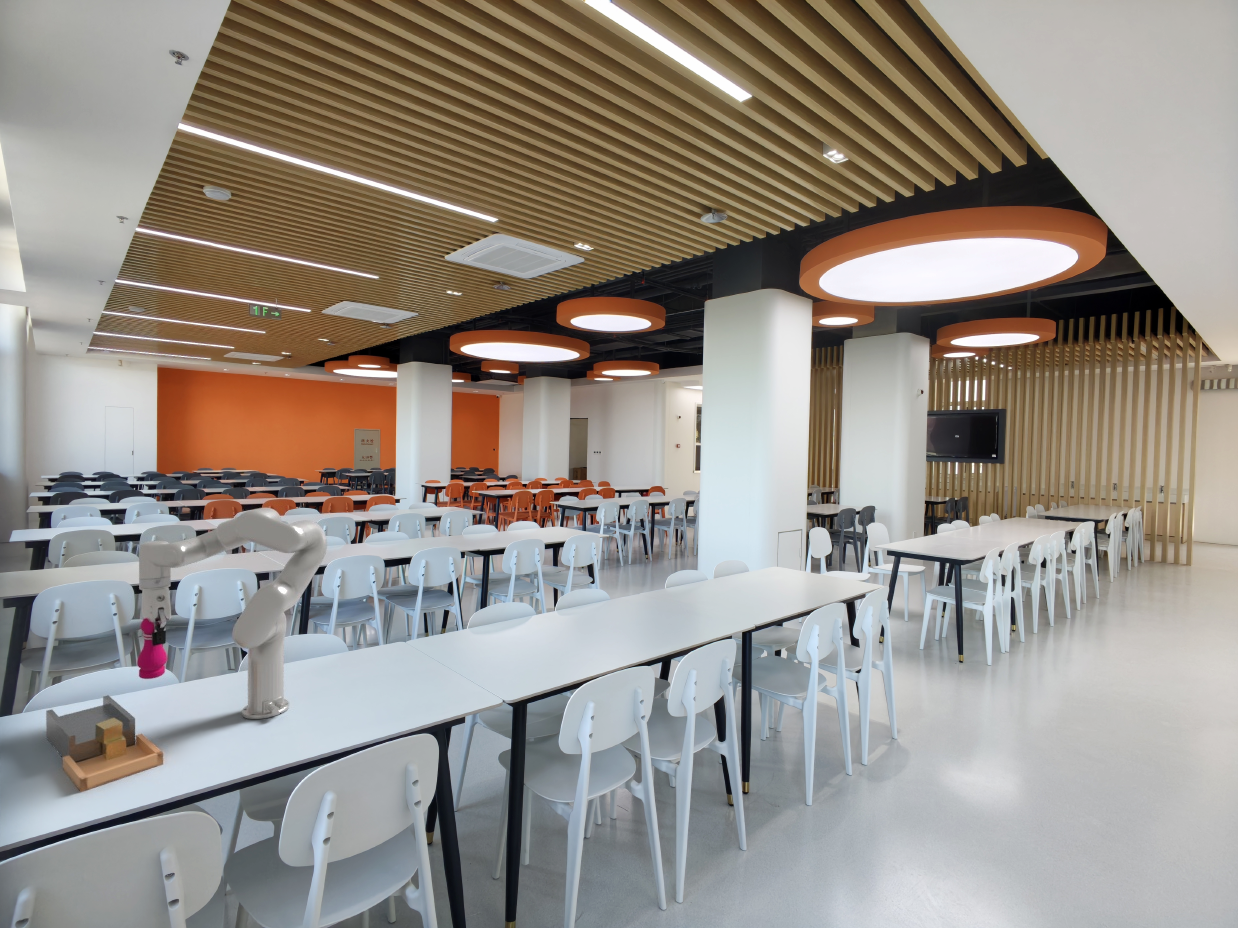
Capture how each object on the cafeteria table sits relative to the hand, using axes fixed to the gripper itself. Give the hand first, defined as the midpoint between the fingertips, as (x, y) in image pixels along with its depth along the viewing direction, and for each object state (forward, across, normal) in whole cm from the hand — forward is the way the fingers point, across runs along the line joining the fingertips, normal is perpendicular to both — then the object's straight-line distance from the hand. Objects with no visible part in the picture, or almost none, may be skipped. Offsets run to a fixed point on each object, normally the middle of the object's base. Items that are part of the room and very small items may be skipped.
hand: (155, 641), depth 183 cm
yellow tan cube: (+17, -22, +16) cm, 32 cm away
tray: (+22, -29, +17) cm, 40 cm away
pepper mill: (+11, +2, 0) cm, 11 cm away
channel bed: (+22, -8, +17) cm, 29 cm away
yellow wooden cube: (+19, -21, +15) cm, 32 cm away
